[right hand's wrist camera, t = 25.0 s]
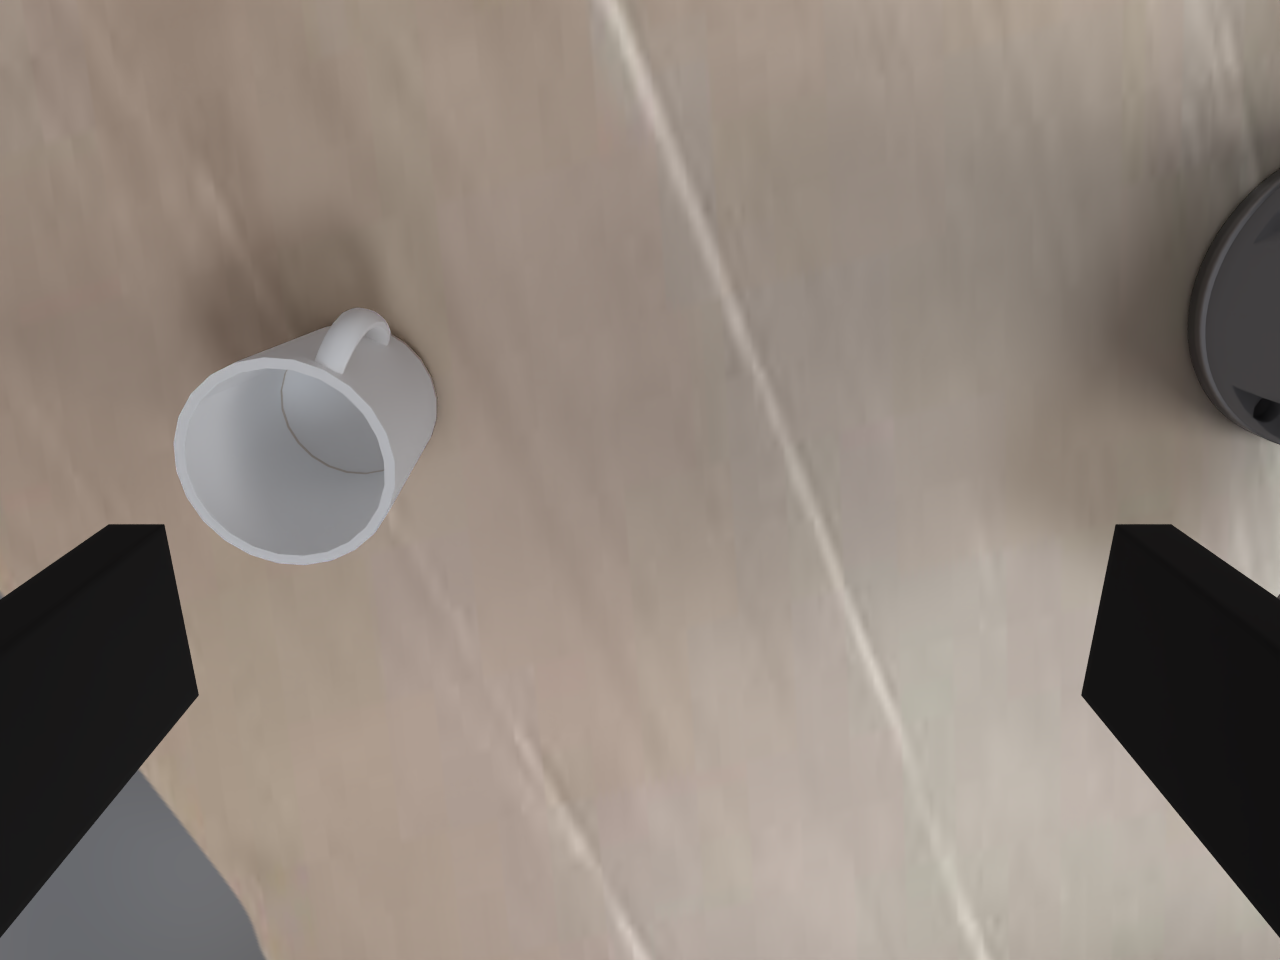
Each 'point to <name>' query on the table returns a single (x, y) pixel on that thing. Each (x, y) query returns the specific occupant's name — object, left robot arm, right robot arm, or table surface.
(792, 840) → the table surface
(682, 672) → the table surface
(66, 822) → the right robot arm
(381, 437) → the mug
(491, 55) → the table surface
